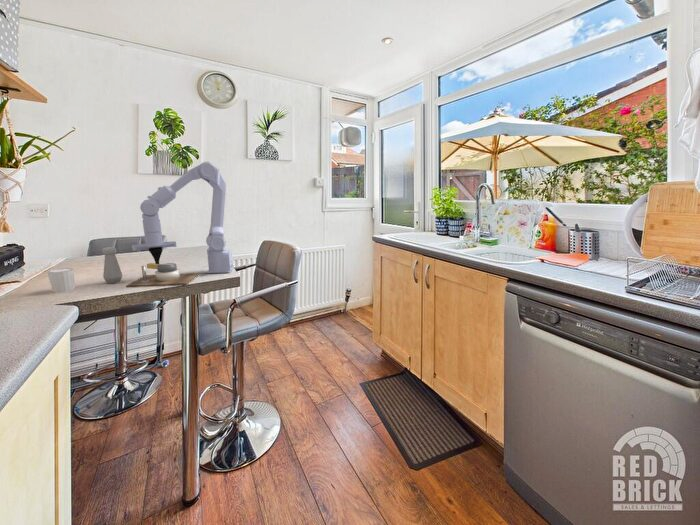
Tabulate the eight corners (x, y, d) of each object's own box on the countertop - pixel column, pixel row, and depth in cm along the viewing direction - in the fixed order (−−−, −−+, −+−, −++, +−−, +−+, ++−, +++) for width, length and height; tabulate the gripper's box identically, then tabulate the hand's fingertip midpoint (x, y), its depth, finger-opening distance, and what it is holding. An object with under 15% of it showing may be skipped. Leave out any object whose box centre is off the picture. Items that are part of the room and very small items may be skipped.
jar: (183, 275, 130) (182, 267, 130) (175, 280, 123) (174, 272, 122) (161, 276, 129) (160, 268, 129) (152, 281, 122) (151, 273, 121)
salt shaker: (113, 284, 120) (108, 249, 118) (100, 283, 121) (94, 248, 119) (127, 280, 126) (122, 246, 123) (114, 279, 127) (109, 246, 124)
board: (199, 274, 135) (199, 273, 135) (186, 284, 120) (186, 283, 120) (146, 276, 132) (146, 274, 132) (126, 287, 117) (126, 285, 117)
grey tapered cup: (61, 287, 116) (57, 268, 115) (82, 287, 117) (78, 267, 115) (45, 293, 110) (41, 272, 108) (67, 292, 110) (63, 272, 109)
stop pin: (151, 282, 123) (149, 265, 122) (148, 284, 120) (145, 266, 119) (143, 282, 123) (140, 265, 121) (139, 284, 120) (137, 267, 119)
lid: (180, 269, 127) (180, 263, 127) (166, 272, 121) (166, 266, 121) (156, 266, 131) (155, 261, 131) (141, 270, 125) (141, 264, 125)
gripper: (171, 229, 134) (175, 262, 137) (129, 232, 125) (134, 267, 128) (175, 231, 129) (179, 265, 131) (131, 234, 120) (136, 271, 123)
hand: (157, 266), depth 129 cm, fingers closed, pressing on lid
